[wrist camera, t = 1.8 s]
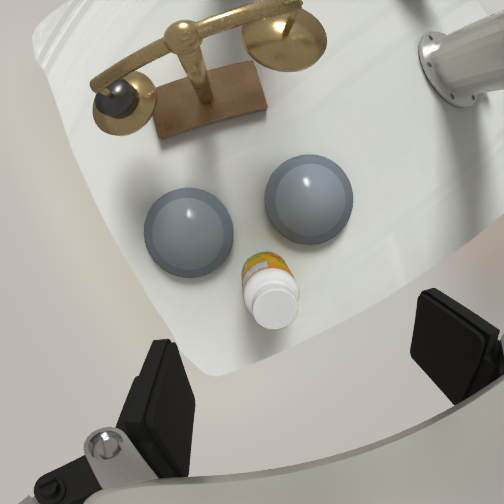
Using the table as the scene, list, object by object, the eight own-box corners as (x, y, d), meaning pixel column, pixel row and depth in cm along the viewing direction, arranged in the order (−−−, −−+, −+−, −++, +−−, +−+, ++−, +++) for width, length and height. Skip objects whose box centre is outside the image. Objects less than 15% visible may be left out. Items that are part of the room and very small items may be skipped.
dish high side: (338, 147, 30) (342, 146, 28) (355, 229, 32) (360, 231, 31) (254, 166, 30) (255, 166, 29) (277, 252, 32) (278, 255, 31)
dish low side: (218, 176, 30) (218, 176, 29) (243, 261, 33) (243, 264, 31) (136, 203, 30) (132, 205, 29) (163, 283, 33) (161, 287, 31)
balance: (283, 58, 26) (330, -35, 9) (298, 103, 28) (367, 36, 11) (121, 105, 27) (27, 58, 9) (131, 151, 28) (32, 136, 11)
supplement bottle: (295, 278, 34) (316, 316, 24) (257, 301, 34) (265, 346, 25) (272, 241, 32) (288, 269, 23) (232, 265, 33) (232, 302, 23)
